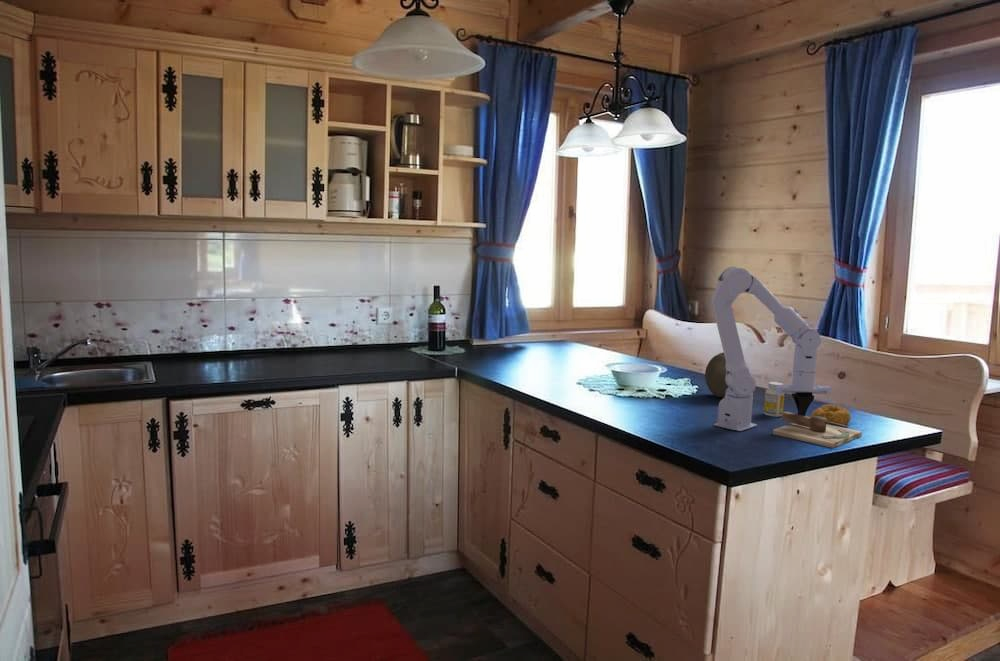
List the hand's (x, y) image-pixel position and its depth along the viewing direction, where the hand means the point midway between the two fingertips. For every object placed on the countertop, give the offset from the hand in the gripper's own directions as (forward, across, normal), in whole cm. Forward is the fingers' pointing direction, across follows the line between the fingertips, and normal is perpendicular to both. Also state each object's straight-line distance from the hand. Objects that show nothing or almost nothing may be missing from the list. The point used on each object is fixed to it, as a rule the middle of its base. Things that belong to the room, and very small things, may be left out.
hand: (801, 419), depth 198 cm
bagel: (+3, -12, -8) cm, 15 cm away
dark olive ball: (+3, +8, -38) cm, 39 cm away
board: (+3, -2, +6) cm, 7 cm away
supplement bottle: (+3, +1, -16) cm, 16 cm away
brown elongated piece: (+1, -1, +5) cm, 5 cm away
